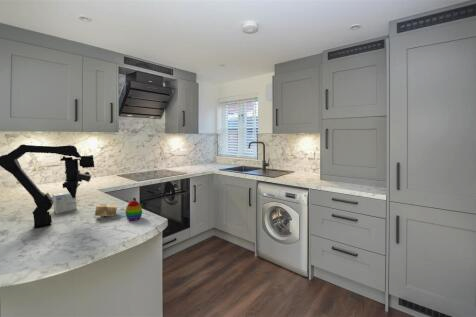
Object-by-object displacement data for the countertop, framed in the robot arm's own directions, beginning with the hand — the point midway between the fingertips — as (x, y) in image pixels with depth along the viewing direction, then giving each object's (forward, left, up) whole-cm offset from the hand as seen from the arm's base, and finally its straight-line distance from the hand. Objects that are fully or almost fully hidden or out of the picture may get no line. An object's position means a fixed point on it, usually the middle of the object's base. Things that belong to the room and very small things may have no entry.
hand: (74, 198), depth 132 cm
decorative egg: (+24, -20, -12) cm, 34 cm away
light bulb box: (-2, +26, -12) cm, 29 cm away
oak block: (+9, -4, -7) cm, 12 cm away
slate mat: (+17, -6, -12) cm, 22 cm away
